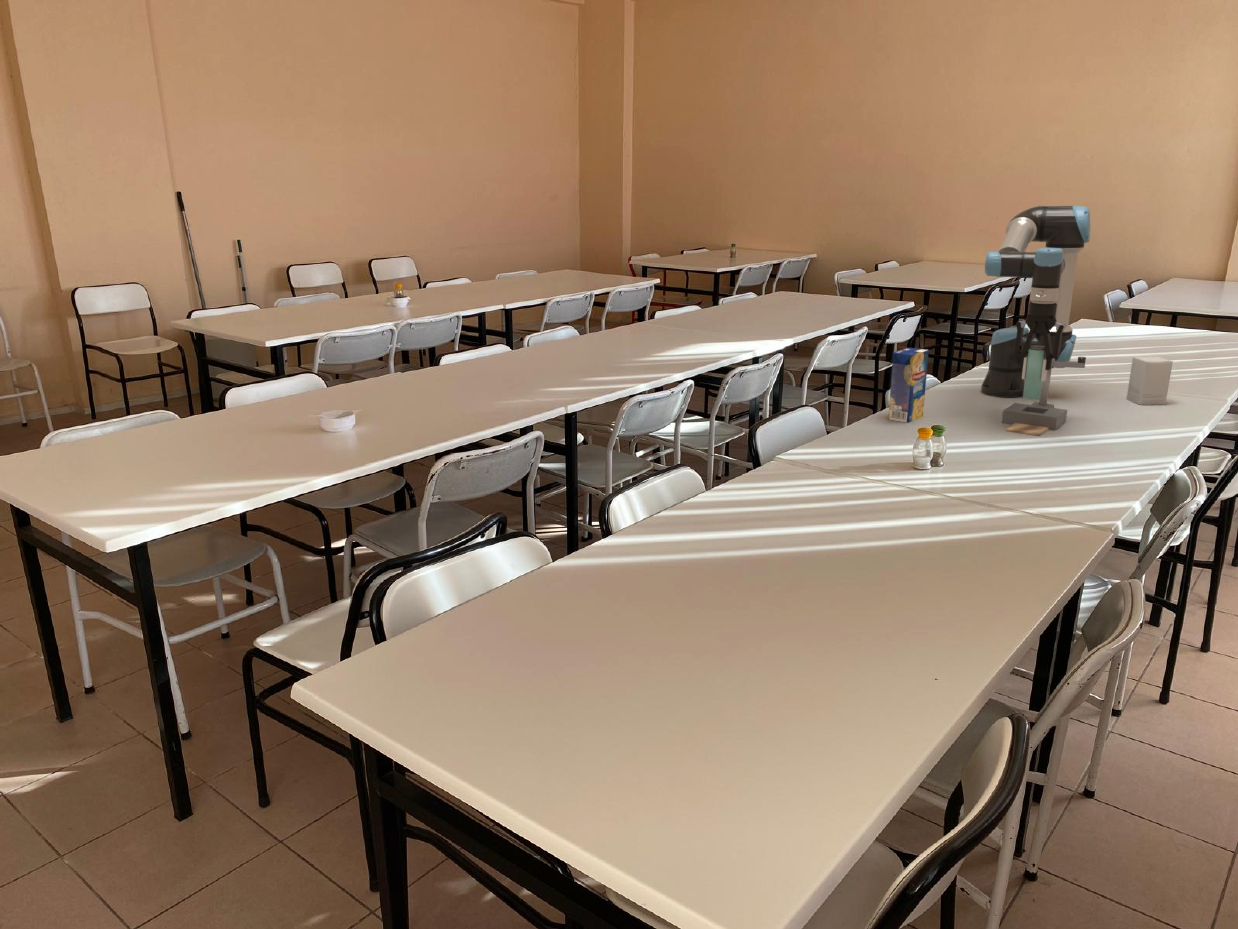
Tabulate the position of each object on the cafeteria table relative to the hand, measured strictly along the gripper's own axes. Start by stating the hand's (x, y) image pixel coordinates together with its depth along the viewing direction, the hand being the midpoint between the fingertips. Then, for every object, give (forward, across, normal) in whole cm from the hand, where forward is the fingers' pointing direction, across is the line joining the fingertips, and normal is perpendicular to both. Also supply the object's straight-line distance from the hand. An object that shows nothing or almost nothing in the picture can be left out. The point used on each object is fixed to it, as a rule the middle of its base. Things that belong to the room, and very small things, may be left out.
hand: (1033, 379), depth 270 cm
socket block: (+16, -1, +12) cm, 20 cm away
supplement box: (+16, +22, +58) cm, 64 cm away
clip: (-1, +3, +20) cm, 20 cm away
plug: (+6, 0, 0) cm, 6 cm away
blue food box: (+16, -36, -7) cm, 40 cm away
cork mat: (+16, 0, 0) cm, 16 cm away
